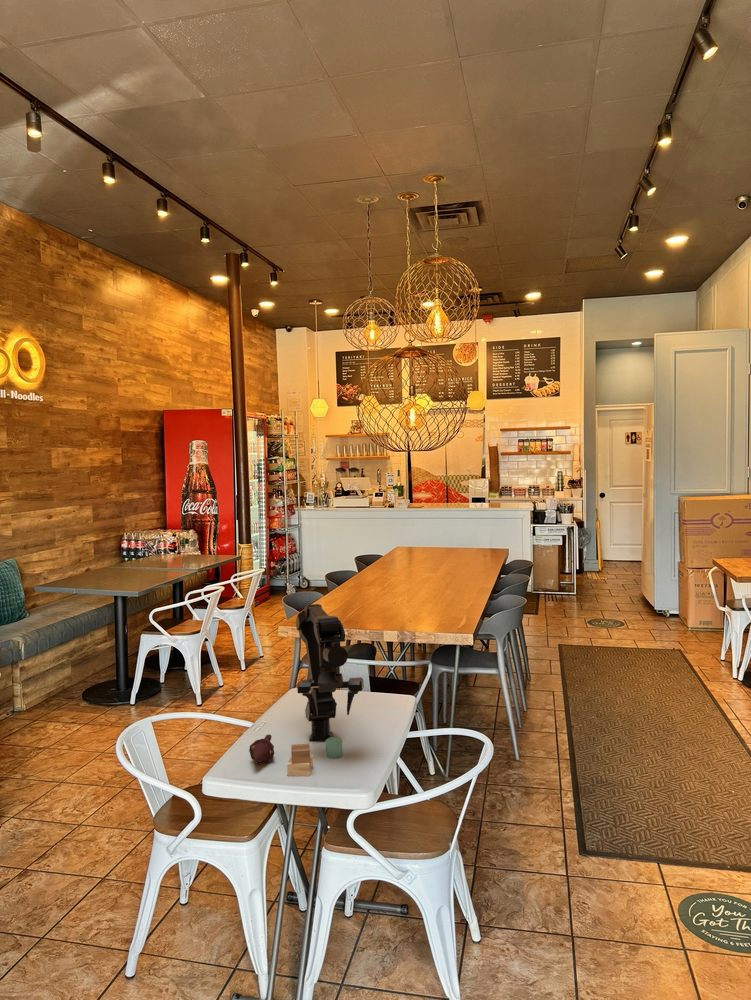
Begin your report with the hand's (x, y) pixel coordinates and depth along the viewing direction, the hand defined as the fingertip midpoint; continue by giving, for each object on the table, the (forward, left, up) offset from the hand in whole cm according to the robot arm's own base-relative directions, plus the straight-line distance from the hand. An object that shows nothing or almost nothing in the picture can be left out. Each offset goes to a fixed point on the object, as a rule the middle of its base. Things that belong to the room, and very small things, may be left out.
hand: (332, 715), depth 203 cm
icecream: (+4, -20, -12) cm, 24 cm away
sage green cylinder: (-1, 0, -12) cm, 12 cm away
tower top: (+10, -8, -9) cm, 16 cm away
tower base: (+10, -8, -12) cm, 18 cm away
